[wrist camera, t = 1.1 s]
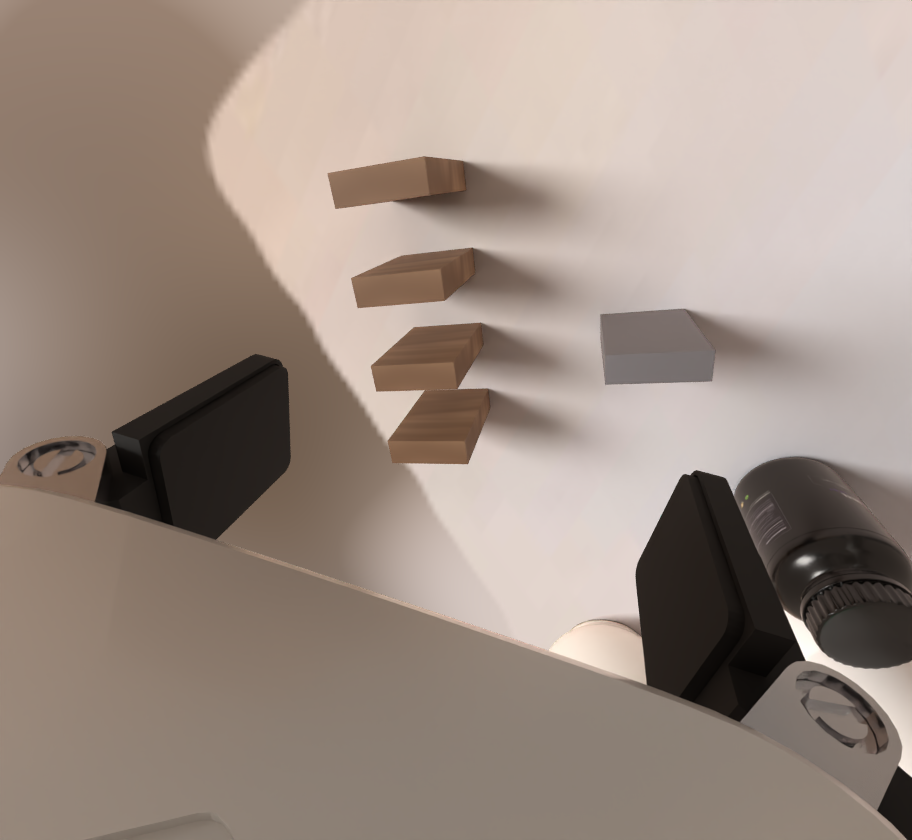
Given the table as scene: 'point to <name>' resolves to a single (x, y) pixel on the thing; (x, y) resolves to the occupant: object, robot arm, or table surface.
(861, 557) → the supplement bottle
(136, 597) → the robot arm
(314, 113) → the table surface
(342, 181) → the domino
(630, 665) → the lidded bowl
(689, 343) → the domino
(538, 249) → the table surface
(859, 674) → the water bottle
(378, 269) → the domino
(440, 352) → the domino
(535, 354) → the table surface
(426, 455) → the domino
